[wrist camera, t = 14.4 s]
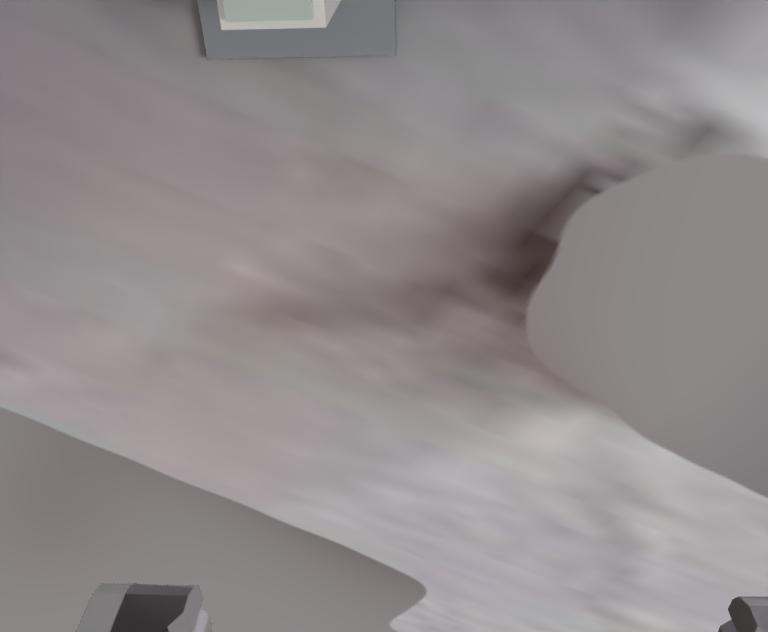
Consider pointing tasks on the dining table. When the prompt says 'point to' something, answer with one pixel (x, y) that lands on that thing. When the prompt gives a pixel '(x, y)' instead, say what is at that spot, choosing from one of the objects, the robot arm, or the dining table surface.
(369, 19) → the mat
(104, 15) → the dining table surface
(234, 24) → the block
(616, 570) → the dining table surface
